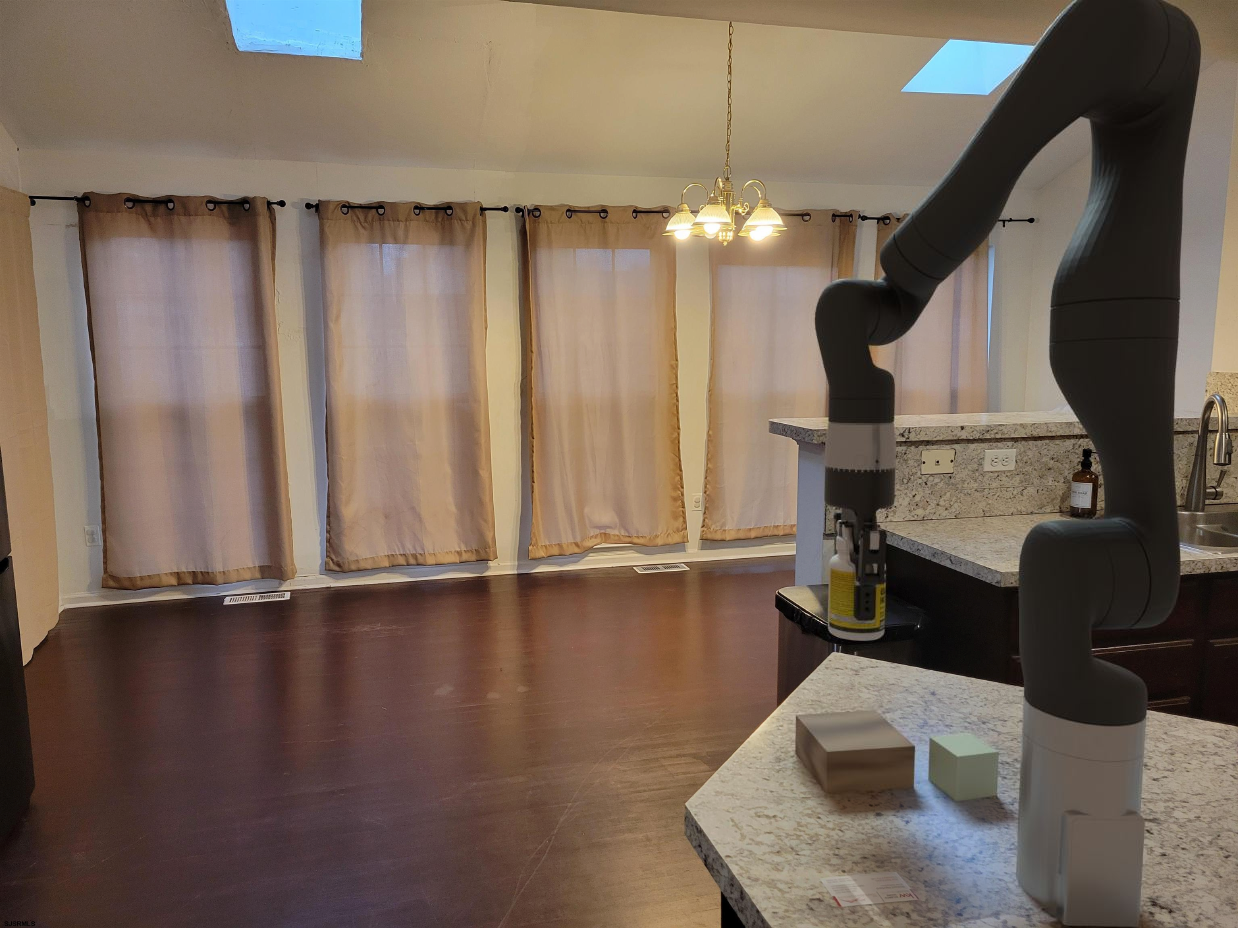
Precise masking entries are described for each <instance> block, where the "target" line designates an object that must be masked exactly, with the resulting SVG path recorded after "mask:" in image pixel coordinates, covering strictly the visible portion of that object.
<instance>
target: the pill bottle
mask: <svg viewBox="0 0 1238 928" xmlns="http://www.w3.org/2000/svg"><path fill="white" fill-rule="evenodd" d="M836 547H837V548H836V549H837V550H838V554H837V555H835V556H834V555H833V556H832V557H831V558H830V560H829V563H828V589H827V591H828V597H827V598H828V600H827V602H828V603H827V604H828V605H827V630H828V631H829V633H830V634H831V635H833V636H835V637H837V638H840V639H844V640H849V641H850V640H851V641H861V642H862V641H865V642H866V641H867V642H868V641H874V640H878V639H881V637H883V636H884V634H885V628H886V627H885V626H886V625H885V624H886V589H887V588H886V587H887V586H886V585H887V565H886V563H885V573H884V579H885V580H884V584H883V585H879V586H878V587H876V616H875V619H874V620H872V621H859V620H857V619H856V618H855V617H854V615H853V611H854V583H853V568H852V566H849V565H848V563H847V553H846V541H845V540H843V536H837V538H836ZM854 554H855V555H856V553H854ZM856 556H857V557H859V555H856ZM866 573H871V567H870V566H869V565H866Z"/></svg>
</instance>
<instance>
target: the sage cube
mask: <svg viewBox="0 0 1238 928" xmlns="http://www.w3.org/2000/svg"><path fill="white" fill-rule="evenodd" d="M928 746H929V748H928V749H929V750H928V771H927V772H928V773H927V775H928V778H927V780H928V781H930V782H931V783H932V784H933V785H935V786H936V787H937V788H939V789H940V790H941V791H942V792H944V793H945V794H946V795H947V796H949V797H950V798H951V799H952V800H954V801H955V802H959V801H967V800H968V801H969V800H974V799H982V798H990V797H997V796H998V783H999V782H998V781H999V779H998V778H999V760H1000V759H999V756H1000V754H999V753H1000V751H998V750H997V749H995V748H994V747H993V746H991V745H989V744H987V743H986V742H985V741H983V740H981V739H980V738H978V737H977V736H975V735H974V734H972V733H970V732H964V733H963V732H961V733H955V734H945V735H935V736H930V737H929V745H928Z"/></svg>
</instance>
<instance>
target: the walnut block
mask: <svg viewBox="0 0 1238 928" xmlns="http://www.w3.org/2000/svg"><path fill="white" fill-rule="evenodd" d="M794 737H795V742H794V745H795V746H794V747H795V749H794V753H795V755H796V756H797V757H798V759H799V760H800V761H801V763H803V765H804V766H805V768H806V769H807V770H808V772H809V773H810V774H811V775H812V777H813V778H814V779H815V780H816V782H817V783H818V785H819V786H820V787H821V788H822V789H823V791H824V792H825V794H826V795H828V794H838V793H854V792H868V791H879V790H895V789H907V788H908V789H909V788H911V789H912V788H914V787H915V768H916V767H915V764H916V763H915V762H916V761H915V759H916V758H915V756H916V746H915V744H913V743H912V742H911V740H909V739H908V738H907V737H906V736H905V735H904V734H902V733H901V732H900V731H899V730H898V729H897V728H896V727H895V726H894V725H892V724H891V723H890V722H889V721H888V720H887V719H886V718H885V717H883V715H882V714H881V713H880V712H878V711H877V710H876V709H875V710H873V709H870V710H856V711H839V712H838V711H837V712H823V713H803V714H795V736H794Z"/></svg>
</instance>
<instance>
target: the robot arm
mask: <svg viewBox="0 0 1238 928" xmlns="http://www.w3.org/2000/svg"><path fill="white" fill-rule="evenodd" d="M1201 57H1202V45H1201V40H1200V35H1199V30H1198V29H1197V27H1196V24H1195V22H1194V21H1193V19H1192V18H1191V17H1190V16H1189V15H1188V14H1187V13H1185V11H1183V10H1182V8H1179V7H1178V6H1175V5H1173V4H1171V3H1169V2H1168V1H1165V0H1073V1H1072V2H1071V3H1069V5H1068V6H1067V7H1065V8H1064V9H1063V11H1061V13H1059V14H1058V16H1057V17H1056V18H1055V20H1054V21H1053V22H1052V23H1050V25H1049V27H1048V28H1047V29H1046V31H1045V32H1044V33H1043V34H1042V36H1041V37H1040V38H1039V40H1038V41H1037V43H1036V44H1035V45H1034V46H1033V49H1032V50H1031V51H1030V52H1029V54H1028V55H1027V57H1026V59H1025V60H1024V62H1023V63H1022V65H1021V66H1020V68H1019V69H1018V70H1017V72H1016V73H1015V75H1013V78H1012V80H1011V81H1009V84H1008V85H1007V87H1006V89H1005V90H1004V91H1003V93H1002V94H1001V95H1000V97H999V98H998V100H997V101H996V103H995V104H994V105H993V107H992V109H991V110H990V111H989V113H988V114H987V115H986V117H985V119H984V120H983V122H982V123H981V124H980V126H979V127H978V129H977V130H976V132H975V133H974V135H973V136H972V138H971V140H969V142H968V143H967V145H966V146H965V148H964V150H963V151H962V152H961V154H960V155H958V157H957V159H956V160H955V162H954V163H953V165H952V166H951V167H950V169H949V170H947V172H946V173H945V174H944V176H943V177H942V178H941V179H940V181H939V182H938V183H937V184H936V185H935V186H934V188H933V189H931V191H930V192H929V193H928V195H927V196H926V197H925V198H924V199H922V201H921V202H920V203H919V204H918V205H917V206H916V208H914V210H913V211H911V213H910V214H909V215H908V216H907V217H906V218H905V219H904V221H903V222H902V223H901V224H900V225H899V226H898V227H897V228H896V229H895V231H893V233H891V235H890V236H889V237H888V238H887V240H886V241H885V242H884V244H883V246H882V247H881V249H880V253H879V264H880V266H881V269H882V271H883V273H884V275H882V276H881V277H880V278H879V279H878V280H874V279H873V280H871V279H870V280H869V279H860V278H841V279H836V280H834V281H832V282H830V283H829V284H827V286H826V287H824V289H823V290H822V292H821V293H820V296H819V297H818V300H817V302H816V306H815V312H814V329H815V335H816V339H817V344H818V348H819V352H820V357H821V360H822V365H823V368H824V373H825V376H826V380H827V383H828V409H827V410H828V414H827V415H828V417H827V421H828V422H827V429H826V435H825V446H824V448H825V449H824V450H825V451H824V491H823V493H824V495H823V496H824V503H825V504H826V505H828V506H829V507H833V508H837V509H841V511H834V513H833V530H834V531H833V538H834V539H833V541H834V542H833V543H834V544H833V548H834V549H833V551H834V553H833V556H835V555H837V554H838V550H837V549H836V548H837V547H836V538H837V536H843V540H845V541H846V553H847V563H848V565H849V566H852V568H853V583H854V611H853V615H854V617H855V618H856V619H857V620H859V621H872V620H874V619H875V616H876V587H878V586H879V585H883V584H884V580H885V579H884V573H885V564H886V554H887V553H886V552H887V541H888V540H887V539H888V534H887V530H886V529H882V528H881V525H880V524H878V518H877V517H878V515H877V512H878V511H879V510H886V509H889V508H891V507H893V506H894V504H895V498H896V497H895V495H896V493H895V492H896V461H897V459H896V458H897V457H896V456H897V455H896V454H897V440H896V432H895V414H896V413H895V409H896V408H895V407H896V406H895V405H896V399H895V398H896V385H895V378H894V376H893V374H892V373H891V372H890V371H888V370H887V369H885V368H881V367H879V366H877V365H876V364H875V363H874V361H873V357H872V355H871V350H870V347H872V346H873V347H881V346H886V345H889V344H892V343H894V342H895V341H897V340H899V339H900V338H902V337H903V336H904V335H906V334H907V333H908V332H909V331H910V330H911V329H912V328H913V327H914V325H915V324H916V322H917V321H918V320H919V318H920V317H921V314H922V313H923V311H924V310H925V308H927V306H928V304H929V302H930V301H931V300H932V297H933V295H934V293H935V292H936V290H937V288H938V287H939V286H940V285H941V284H942V283H943V282H944V281H945V280H946V279H948V277H950V276H951V275H952V274H953V272H955V271H956V270H957V269H958V268H959V267H960V266H961V265H962V264H963V263H964V262H965V261H966V260H967V259H968V258H969V257H970V256H971V255H972V254H973V253H974V252H976V250H977V249H979V247H980V246H981V245H982V244H983V243H984V241H985V240H986V239H987V238H988V237H989V235H990V234H991V233H992V231H993V230H994V228H995V227H996V225H997V222H999V220H1000V218H1001V215H1002V214H1003V211H1004V209H1005V207H1006V205H1007V203H1008V200H1009V198H1010V195H1011V194H1012V191H1013V189H1014V188H1015V186H1016V184H1017V181H1018V180H1019V179H1020V177H1021V176H1022V175H1023V172H1024V171H1025V170H1026V168H1027V167H1028V166H1029V164H1030V163H1031V162H1032V161H1033V160H1034V158H1035V157H1036V156H1037V155H1038V154H1039V153H1040V152H1041V151H1042V150H1043V149H1044V148H1045V147H1046V146H1047V145H1048V144H1050V142H1051V141H1053V139H1055V138H1056V137H1057V136H1058V135H1059V134H1061V133H1062V131H1064V130H1065V129H1066V128H1068V127H1069V126H1070V125H1072V124H1073V123H1075V122H1076V121H1077V120H1078V119H1080V118H1084V119H1087V120H1088V121H1089V124H1090V126H1089V127H1090V134H1091V136H1090V137H1091V169H1090V171H1091V172H1090V173H1091V175H1090V184H1089V190H1088V197H1087V200H1086V203H1085V206H1084V210H1083V212H1082V215H1081V217H1080V219H1079V220H1078V223H1077V226H1076V227H1075V230H1074V231H1073V235H1072V236H1071V238H1070V241H1069V242H1068V245H1067V247H1066V249H1065V251H1064V254H1063V255H1062V257H1061V260H1060V262H1059V264H1058V266H1057V267H1058V268H1057V271H1056V273H1055V276H1054V279H1053V284H1052V288H1051V296H1050V307H1049V308H1050V311H1049V315H1050V316H1049V338H1048V339H1049V342H1048V343H1049V345H1048V346H1049V348H1048V351H1049V352H1048V353H1049V355H1048V359H1049V364H1050V365H1049V366H1050V368H1051V373H1052V375H1053V377H1054V380H1055V382H1056V384H1057V386H1058V388H1059V390H1060V392H1061V393H1062V395H1063V397H1064V399H1065V401H1066V402H1067V404H1068V406H1069V407H1070V409H1071V410H1072V412H1073V413H1074V415H1075V416H1076V418H1077V420H1078V421H1079V423H1080V424H1081V426H1082V427H1083V429H1084V431H1085V432H1086V434H1087V436H1088V438H1089V440H1090V441H1091V443H1092V444H1093V445H1092V446H1093V448H1094V450H1095V452H1096V454H1097V457H1098V460H1099V465H1100V470H1101V475H1102V482H1103V493H1104V494H1103V498H1104V499H1103V501H1104V502H1103V503H1104V504H1103V517H1102V519H1065V520H1064V519H1063V520H1061V519H1060V520H1048V521H1043V522H1039V523H1038V524H1036V525H1034V526H1033V527H1032V528H1031V529H1030V530H1029V532H1028V533H1027V534H1026V537H1025V538H1024V541H1023V543H1022V547H1021V550H1020V555H1019V561H1018V562H1019V563H1018V611H1019V612H1018V613H1019V615H1018V616H1019V617H1018V618H1019V620H1018V621H1019V623H1018V624H1019V625H1018V626H1019V627H1018V628H1019V632H1018V633H1019V635H1018V636H1019V638H1018V639H1019V643H1018V647H1019V660H1020V665H1021V670H1022V676H1023V700H1022V701H1023V702H1022V703H1023V704H1022V727H1021V743H1020V762H1019V763H1020V767H1019V768H1020V769H1019V787H1018V788H1019V789H1018V790H1019V791H1018V811H1017V812H1018V813H1017V816H1018V817H1017V833H1016V834H1017V835H1016V836H1017V837H1016V839H1017V840H1016V864H1015V866H1016V868H1015V878H1016V880H1017V883H1018V885H1019V887H1021V889H1022V890H1023V891H1024V892H1025V893H1026V894H1027V895H1028V896H1029V897H1030V898H1032V899H1034V900H1035V901H1036V902H1038V903H1039V904H1041V905H1042V906H1045V907H1043V908H1041V909H1042V910H1043V911H1045V912H1047V913H1049V914H1051V915H1052V916H1055V917H1056V918H1057V919H1058V920H1059V921H1060V923H1062V925H1064V926H1068V927H1070V926H1071V927H1072V926H1073V927H1075V926H1077V927H1089V926H1090V927H1118V928H1119V927H1122V928H1123V927H1125V928H1129V927H1130V928H1132V927H1133V928H1138V927H1139V926H1140V916H1141V915H1140V914H1141V912H1140V911H1141V896H1142V882H1143V878H1142V877H1143V866H1144V865H1143V864H1144V863H1143V861H1144V850H1145V849H1144V846H1145V833H1146V832H1145V829H1146V820H1145V818H1144V817H1143V816H1142V814H1141V813H1142V812H1141V811H1142V790H1143V778H1144V777H1143V774H1144V773H1143V772H1144V760H1145V759H1144V756H1145V744H1146V743H1145V741H1146V726H1147V715H1148V713H1147V712H1148V688H1147V685H1146V684H1145V682H1144V680H1143V679H1142V678H1141V677H1139V676H1138V675H1137V674H1135V673H1134V672H1132V671H1130V670H1129V669H1127V668H1124V667H1123V666H1120V665H1117V664H1114V663H1111V662H1109V661H1106V660H1103V659H1099V658H1096V657H1094V653H1093V646H1092V645H1093V643H1092V630H1093V631H1095V630H1096V631H1099V630H1101V631H1102V630H1129V629H1145V628H1152V627H1155V626H1158V625H1159V624H1161V623H1163V622H1164V621H1166V619H1167V618H1168V617H1169V616H1170V615H1171V613H1172V612H1173V610H1174V607H1175V606H1176V603H1177V599H1178V597H1179V596H1178V595H1179V591H1180V584H1181V583H1180V582H1181V565H1182V564H1181V561H1182V560H1181V558H1182V556H1181V544H1180V543H1181V541H1180V540H1181V539H1180V527H1179V526H1180V525H1179V514H1178V501H1177V497H1178V496H1177V487H1176V471H1175V469H1176V468H1175V402H1176V401H1175V395H1176V392H1175V391H1176V372H1177V363H1178V361H1177V360H1178V350H1179V348H1178V347H1179V337H1180V336H1179V334H1180V332H1179V331H1180V309H1181V303H1180V301H1181V257H1182V256H1181V253H1182V236H1183V235H1182V234H1183V213H1184V209H1183V207H1184V206H1183V205H1184V204H1183V203H1184V201H1183V200H1184V199H1183V198H1184V180H1185V179H1184V177H1185V168H1186V161H1187V152H1188V145H1189V139H1190V133H1191V127H1192V120H1193V115H1194V108H1195V102H1196V96H1197V91H1198V84H1199V78H1200V70H1201V59H1202V58H1201ZM854 553H856V555H859V557H857V556H856V555H855V554H854ZM866 565H869V566H870V567H871V573H866Z"/></svg>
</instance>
